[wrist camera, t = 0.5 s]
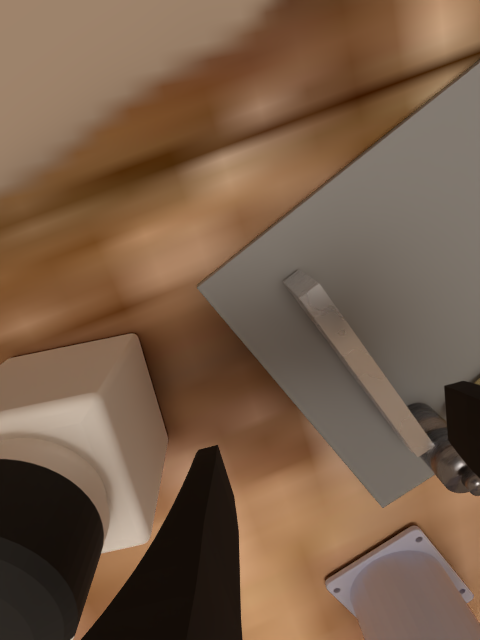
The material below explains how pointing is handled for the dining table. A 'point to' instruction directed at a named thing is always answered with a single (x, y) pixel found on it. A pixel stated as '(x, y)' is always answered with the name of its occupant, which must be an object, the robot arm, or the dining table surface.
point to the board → (374, 284)
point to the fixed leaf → (370, 372)
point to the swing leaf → (446, 460)
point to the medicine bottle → (72, 476)
